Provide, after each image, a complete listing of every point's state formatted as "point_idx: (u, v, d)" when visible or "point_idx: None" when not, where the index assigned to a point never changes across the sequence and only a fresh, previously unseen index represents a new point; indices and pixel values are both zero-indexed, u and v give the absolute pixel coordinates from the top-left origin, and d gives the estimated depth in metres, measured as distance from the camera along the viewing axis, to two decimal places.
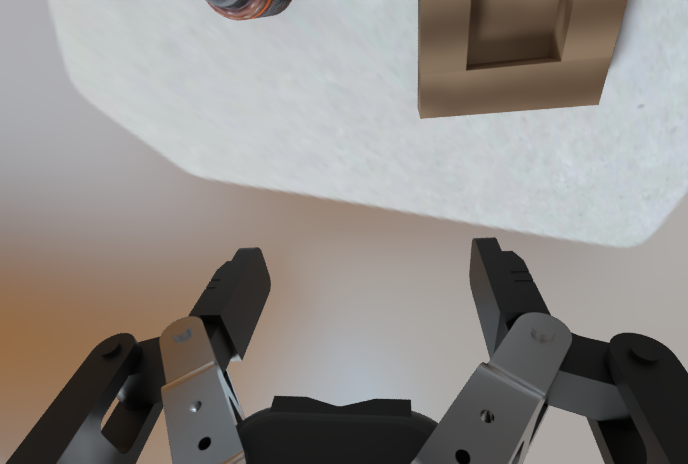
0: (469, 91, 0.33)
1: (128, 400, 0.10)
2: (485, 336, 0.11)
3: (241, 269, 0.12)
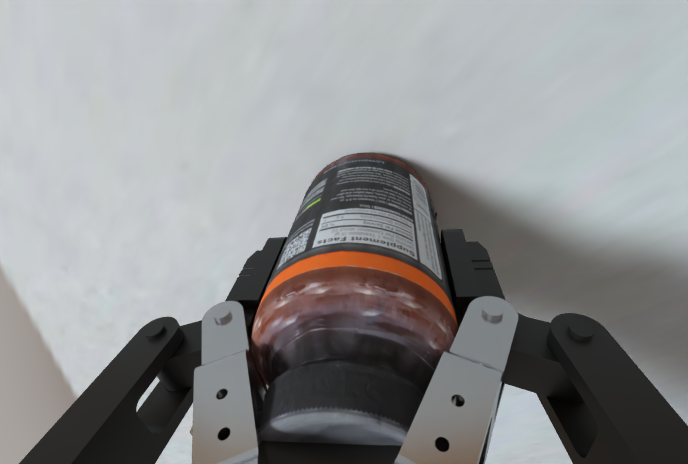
0: None
1: (167, 382, 0.10)
2: None
3: (273, 257, 0.12)
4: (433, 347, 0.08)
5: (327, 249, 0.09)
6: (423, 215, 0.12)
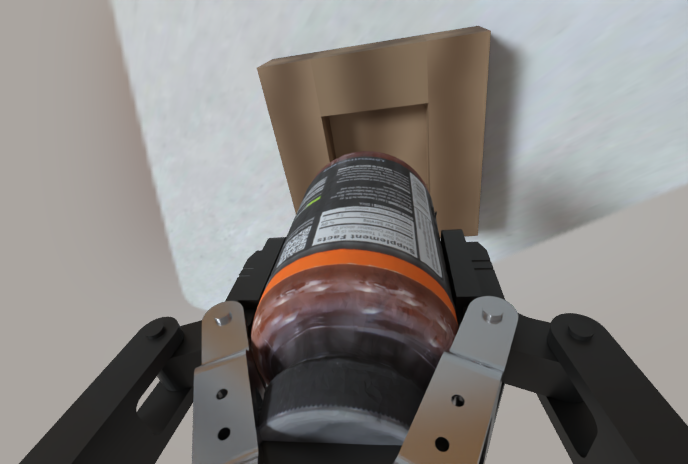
0: (299, 125, 0.27)
1: (167, 382, 0.10)
2: None
3: (273, 257, 0.12)
4: (433, 345, 0.08)
5: (326, 247, 0.09)
6: (423, 213, 0.12)
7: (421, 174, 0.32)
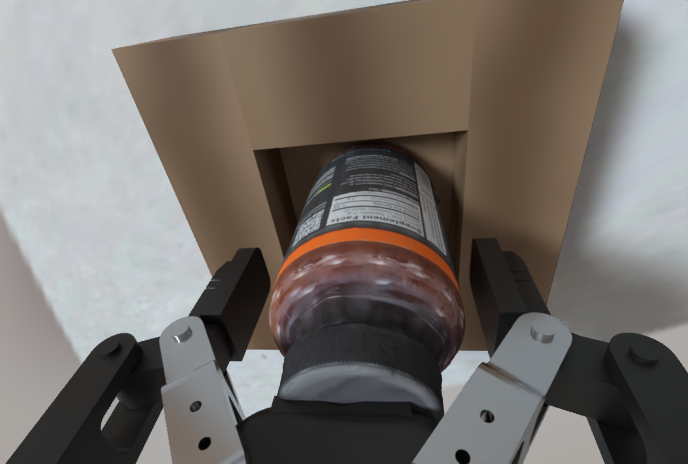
0: (213, 164, 0.14)
1: (128, 400, 0.10)
2: (485, 336, 0.11)
3: (241, 269, 0.12)
4: (440, 314, 0.09)
5: (340, 226, 0.10)
6: (428, 199, 0.13)
7: None
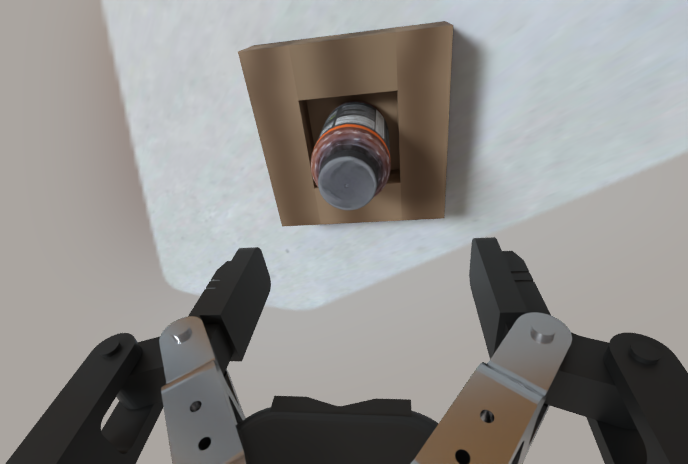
0: (278, 108, 0.29)
1: (128, 400, 0.10)
2: (485, 336, 0.11)
3: (241, 269, 0.12)
4: (378, 154, 0.24)
5: (340, 124, 0.25)
6: (380, 122, 0.28)
7: (393, 160, 0.34)
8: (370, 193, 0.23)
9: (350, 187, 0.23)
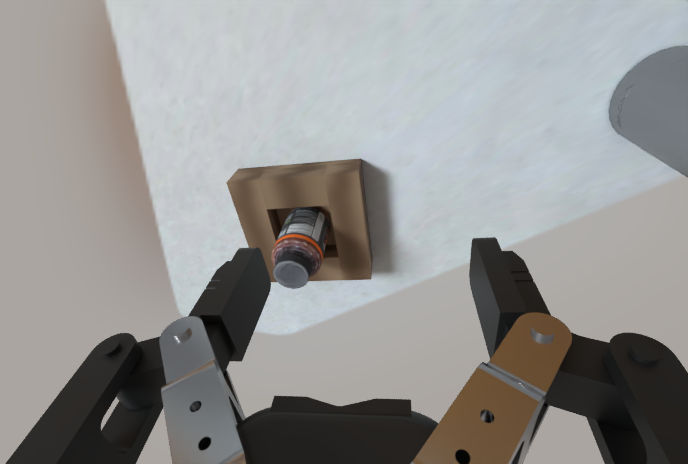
0: (253, 213, 0.44)
1: (128, 400, 0.10)
2: (485, 336, 0.11)
3: (241, 269, 0.12)
4: (311, 254, 0.39)
5: (289, 233, 0.40)
6: (318, 225, 0.43)
7: None
8: (305, 279, 0.39)
9: (292, 276, 0.39)
